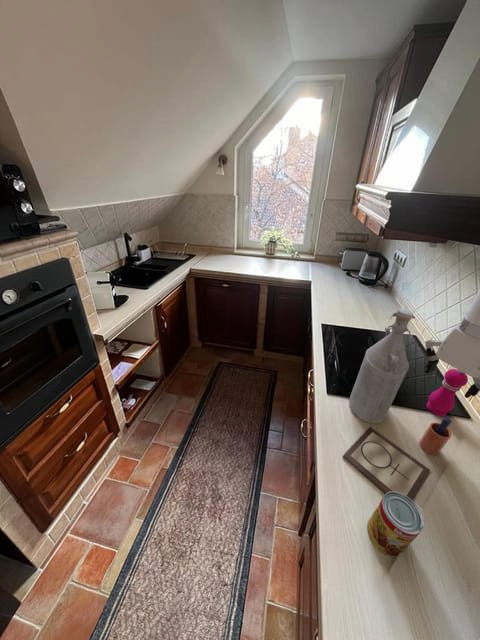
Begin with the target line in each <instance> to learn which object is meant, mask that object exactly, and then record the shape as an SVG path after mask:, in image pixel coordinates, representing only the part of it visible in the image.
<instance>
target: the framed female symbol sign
mask: <svg viewBox="0 0 480 640" xmlns="http://www.w3.org/2000/svg"><path fill="white" fill-rule="evenodd" d="M342 458H343V459H344V460H345V461H346V462H348V463H349V464H350V465H351V466H353V468H354V469H356V470H357V471H358V472H359V473H360V474H362V475H363V476H364V477H365V478H366V479H368V481H370V482H371V483H372V484H373V485H374V486H376V488H378V489H379V490H380V491H381V492H383V494H384V495H385V494H386V493H388V492H391V491H395V492H399V493H402V494H404V495H406V496H407V497H409V498H410V499H411V500H412V501H413V502H414V499H415V498H416V496H417V494H418V492H419V491H420V489H421V487H422V486H423V485H424V483H425V481H426V479H427V478H428V475H429V474H430V472H431V469H430V468H429V467H427V466H425V465H424V464H423V463H422V462H420V461H418V460H417V459H416V458H414V457H413V456H411V455H410V454H409V453H407V452H406V451H405V450H403V449H402V448H401V447H399V446H398V445H397V444H395V442H394V443H393V442H392V441H391V440H389V439H388V438H386V437H385V436H384V435H382V434H381V433H380V432H379V431H377V430H375V429H374V428H373V427H371V426H369V427H368V428H367V429H366V430H365V431H364V433H362V435H361V436H360V437H359V438H358V439H357V440H356V441H355V442H354V443H353V444H352V445H351V446H350V447H349V448H348V450H346V451H345V452H344V453H343V454H342Z"/></svg>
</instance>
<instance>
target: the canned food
mask: <svg viewBox="0 0 480 640" xmlns="http://www.w3.org/2000/svg"><path fill="white" fill-rule="evenodd" d="M424 528H425V519H424V514H423V513H422V511H421V508H420V507H419V506H418V505H417V504H416V502H415V501H414V500H413V501H412V500H411V499H410V498H409V497H407V496H406V495H404V494H402V493H399V492H395V491H391V492H388V493H386V494H385V493H384V495H383V497H382V498H381V500H380V501H379V503H378V504H377V506H376V508H375V509H374V511H373V512H372V514H371V516H370V517H369V519H368V521H367V525H366V529H367V530H366V531H367V534H368V537H369V539H370V541H371V540H372V541H371V543H372V544H373V545H374V547H375V548H376V547H377V548H376V549H377V550H378V551H379V552H381V553H382V552H383V553H382V554H384V553H385V554H384V555H386V556H388V555H389V557H393V556H396V557H398V556H399V555H400V554H402V553H403V552H404V551H405V550H406V549H407V548H409V545H411V544H412V542H414V540H415V539H416V538H417V537H419V535H420V534H421V533H422V532H423V530H424Z"/></svg>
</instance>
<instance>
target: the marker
mask: <svg viewBox="0 0 480 640" xmlns="http://www.w3.org/2000/svg"><path fill="white" fill-rule="evenodd" d="M439 423H440V425H439V426H438V428H437V429H436V431H435V433H437V434H438V435H440V436H442V435H443V433H444V432H445V430H446V429H447V428H448V429H449V426H450V425H451V424H452V419H451V418H450V417H448V416H443V419H442V420H441V422H439Z"/></svg>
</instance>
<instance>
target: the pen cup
mask: <svg viewBox="0 0 480 640" xmlns="http://www.w3.org/2000/svg"><path fill="white" fill-rule="evenodd" d="M440 423H441V422H431V423H430V424H429V426H428V427H427V429H426V431H425V432H424V434H423V435H422V437H421V438H420V440H419V441H418V444H419V446H420V448H421V450H422V451H424V452H425V453H426V454H428V455H431V456H437V455H439V454H440V453H441V451H443V449H444V447H445V446H446V444H447V443H448V441H449V440H450V439H451V437H452V432H451V431H450V429H449V427H448V428H447V429H446V430H445V432H444V433H443V435H442V436H440V435H438V434H437V433H435V431H436V429H437V428H438V426H439V425H440Z"/></svg>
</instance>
